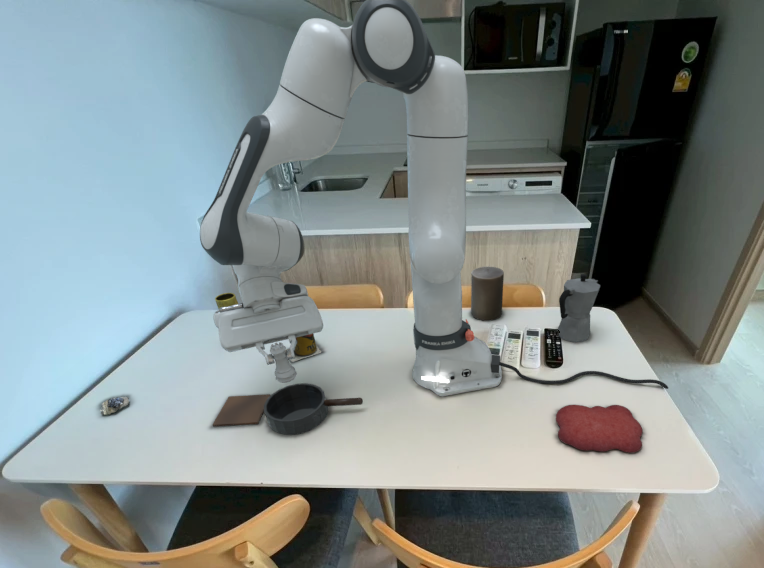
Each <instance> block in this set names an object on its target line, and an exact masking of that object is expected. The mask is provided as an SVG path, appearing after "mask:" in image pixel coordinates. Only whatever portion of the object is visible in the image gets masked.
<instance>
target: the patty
mask: <svg viewBox="0 0 764 568" xmlns="http://www.w3.org/2000/svg"><path fill="white" fill-rule="evenodd" d="M555 421H556V423H557V426H558V427H559V429H558V431H557V436H558V439H559V440H560V441H561V442H562V443H564V444H565V445H569V446H571V447H574V448H575V449H577V450H580V451H596V452H601V453H602V452H603V453H604V452H608V451H610V450H619V451H621V452H624V453H630V454H632V453H633V454H634V453H638V452H639V451H641V449H642V447H643V442H642V440H641V437H642V436H643V427H642V425H641V424H640V423H639V421H638V420H637V419H636V418H635V417H634V416H633V413H632V411H631V410H630V409H629V408H627V407H625V406H623V405H620V404H611V405H608V406H606V407H605V406H603V405H602V406H601V405H594V406H591V407H589V406H585V405H580V404H568V405H564V406H563V407H561V408H559V409H558V410H557V412H556V413H555Z"/></svg>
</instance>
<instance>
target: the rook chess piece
mask: <svg viewBox="0 0 764 568" xmlns="http://www.w3.org/2000/svg"><path fill="white" fill-rule="evenodd" d="M269 348H270V349H269V354H272V355H273V359H274V361H275V363H274V364H275V370H274V377H275V381H277V382H278V383H282V384H286V383H290V382H292V381H294V380H295V379H296V378H297V375H298V373H297V370H296V368H295V366H293V365H292V363H290V360H288V358H287V354H286V353H285V350H286V349H287V346H285V345H284V343H282V341H278V342H274V344H273V343H271V345H270V346H269Z"/></svg>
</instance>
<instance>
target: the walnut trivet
mask: <svg viewBox="0 0 764 568" xmlns="http://www.w3.org/2000/svg"><path fill="white" fill-rule="evenodd" d="M271 395H272V394H270V393H268V394H267V393H266V394H250V395H249V394H247V395H231V396H228V397H227V399H226V400H225V402H224V404H223V405H222V407H221V409H220V411H219V412H218V415H217V416H216V418H215V419H214V421H213V423H212V427H215V428H217V427H232V426H249V425H259V423H260V421H261V419H262V417H263V414H264V404H265V402H266V400H267V399H268V398H269V397H270V396H271Z"/></svg>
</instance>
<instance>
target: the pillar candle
mask: <svg viewBox="0 0 764 568" xmlns="http://www.w3.org/2000/svg"><path fill="white" fill-rule="evenodd" d="M470 274H471V278H470V281H471V288H470V294H471V296H470V298H471V299H470V314H471V316H472V317H473V318H474V319H476V320H480V321H485V322H486V321H494V320H497V319H500V318H501V316H502V315H503V296H504V277H505V271H504V270H503V269H501V268H499V267H496V266H489V265H488V266H481V267H477V268H474V269H473V270H472V271H471V273H470Z"/></svg>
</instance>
